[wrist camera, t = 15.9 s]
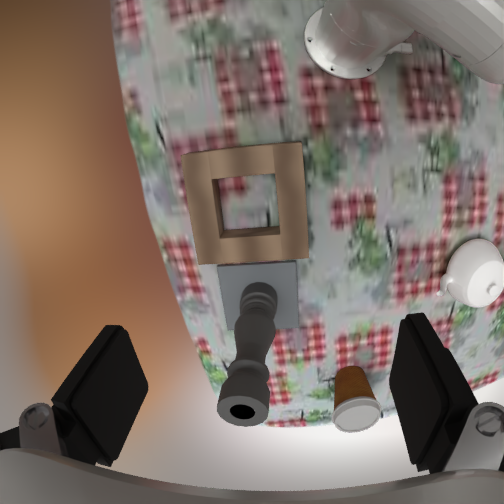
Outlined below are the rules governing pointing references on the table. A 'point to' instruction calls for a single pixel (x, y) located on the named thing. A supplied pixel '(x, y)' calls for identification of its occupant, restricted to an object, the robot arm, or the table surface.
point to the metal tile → (271, 273)
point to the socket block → (251, 239)
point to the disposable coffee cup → (354, 401)
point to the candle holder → (250, 358)
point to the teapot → (474, 274)
